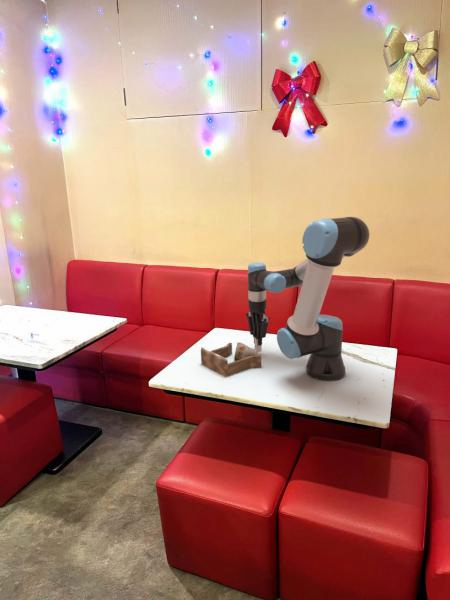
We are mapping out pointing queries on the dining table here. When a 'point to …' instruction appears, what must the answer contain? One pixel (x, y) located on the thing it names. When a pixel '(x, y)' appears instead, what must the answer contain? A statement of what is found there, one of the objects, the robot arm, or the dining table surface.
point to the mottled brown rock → (244, 351)
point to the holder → (220, 364)
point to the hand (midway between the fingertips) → (258, 351)
